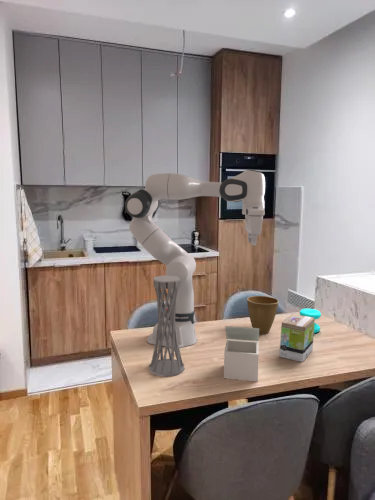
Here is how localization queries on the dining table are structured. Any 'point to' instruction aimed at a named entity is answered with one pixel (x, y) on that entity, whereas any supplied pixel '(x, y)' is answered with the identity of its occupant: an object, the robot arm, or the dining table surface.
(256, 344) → the carton
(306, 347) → the tea box
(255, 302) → the plant pot
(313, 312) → the cyan rounded piece
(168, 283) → the grey lattice tower
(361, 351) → the dining table surface
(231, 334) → the lid flap
